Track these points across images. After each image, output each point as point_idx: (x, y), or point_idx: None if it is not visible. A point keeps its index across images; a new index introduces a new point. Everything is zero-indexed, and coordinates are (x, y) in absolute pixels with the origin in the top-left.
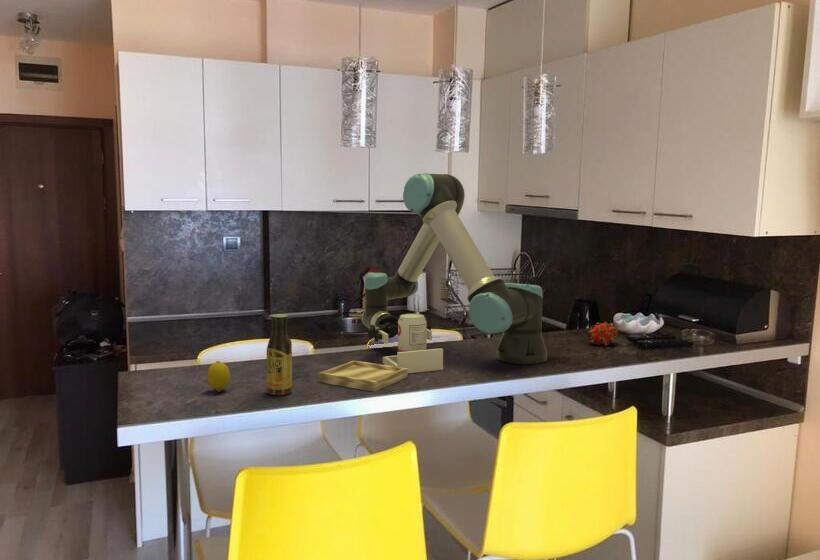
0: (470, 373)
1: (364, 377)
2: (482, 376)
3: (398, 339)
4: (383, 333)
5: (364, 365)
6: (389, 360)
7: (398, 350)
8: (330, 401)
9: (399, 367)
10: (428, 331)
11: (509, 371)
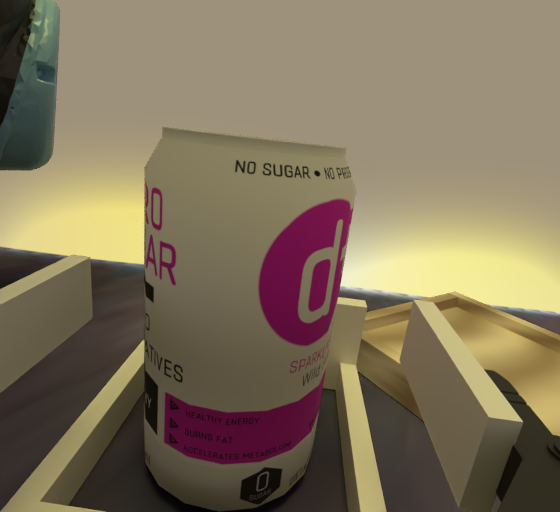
0: (119, 305)
1: (493, 346)
2: (122, 285)
3: (334, 313)
4: (452, 329)
5: None
6: (369, 458)
7: (323, 380)
8: (552, 315)
9: None
10: (78, 268)
11: (11, 280)
